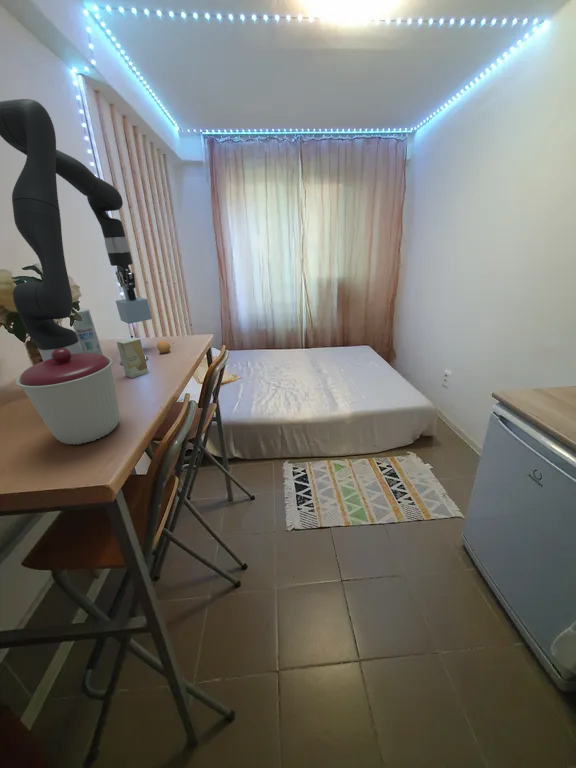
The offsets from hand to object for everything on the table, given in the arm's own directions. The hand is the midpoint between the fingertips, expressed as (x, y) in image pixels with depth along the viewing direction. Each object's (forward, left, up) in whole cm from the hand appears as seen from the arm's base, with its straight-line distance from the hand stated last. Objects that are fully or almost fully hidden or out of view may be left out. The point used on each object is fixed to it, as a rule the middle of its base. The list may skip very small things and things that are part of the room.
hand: (131, 299), depth 122 cm
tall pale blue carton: (-18, +2, -21) cm, 28 cm away
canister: (-32, -53, -21) cm, 66 cm away
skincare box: (-11, -24, -21) cm, 34 cm away
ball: (+5, -9, -19) cm, 21 cm away
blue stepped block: (0, 0, -8) cm, 8 cm away
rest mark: (-7, -9, -21) cm, 24 cm away
